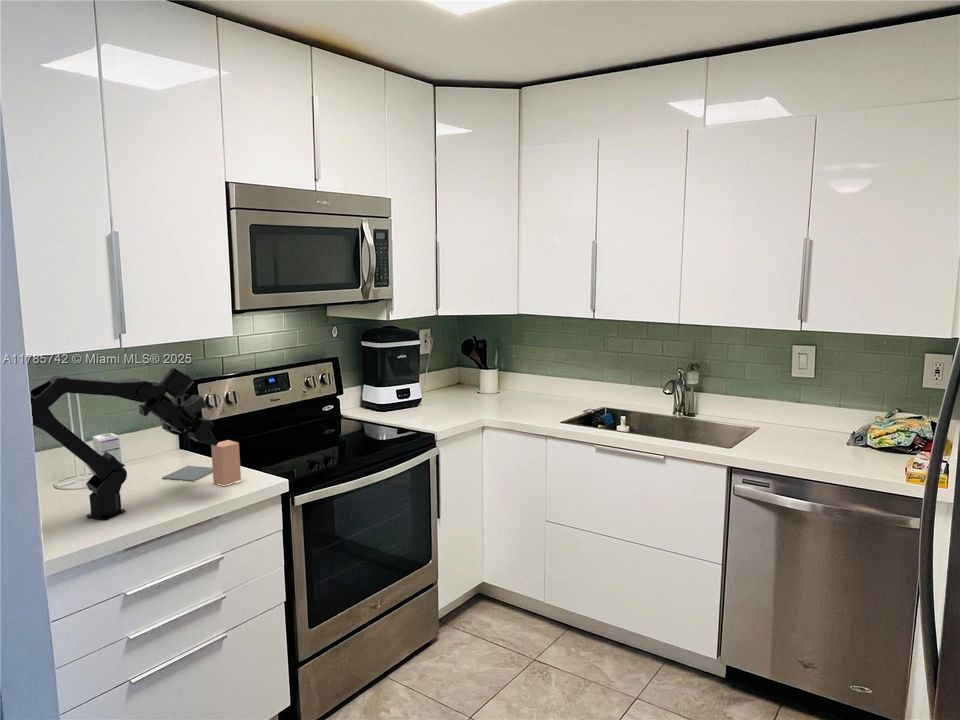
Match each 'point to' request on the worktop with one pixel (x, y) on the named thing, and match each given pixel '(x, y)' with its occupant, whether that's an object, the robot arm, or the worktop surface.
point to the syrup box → (108, 445)
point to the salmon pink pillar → (226, 462)
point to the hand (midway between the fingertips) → (208, 441)
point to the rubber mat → (189, 473)
